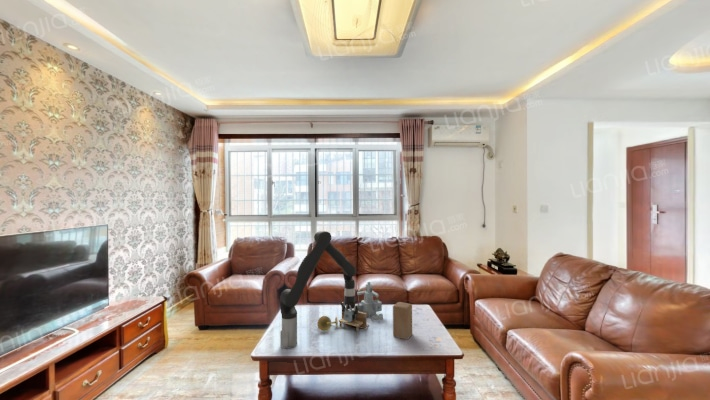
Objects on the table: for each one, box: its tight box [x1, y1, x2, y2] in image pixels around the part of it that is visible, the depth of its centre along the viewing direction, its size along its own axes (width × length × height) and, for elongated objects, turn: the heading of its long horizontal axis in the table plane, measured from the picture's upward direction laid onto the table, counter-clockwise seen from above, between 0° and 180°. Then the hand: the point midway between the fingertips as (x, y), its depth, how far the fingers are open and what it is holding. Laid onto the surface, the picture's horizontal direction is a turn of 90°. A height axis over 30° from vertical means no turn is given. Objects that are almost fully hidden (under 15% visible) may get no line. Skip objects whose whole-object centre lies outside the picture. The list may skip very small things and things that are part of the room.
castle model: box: [354, 281, 384, 321], centre depth 218 cm, size 17×17×25 cm
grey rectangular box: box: [344, 309, 356, 322], centre depth 199 cm, size 8×5×6 cm, turn 148°
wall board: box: [338, 310, 370, 332], centre depth 202 cm, size 11×20×10 cm, turn 57°
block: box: [392, 301, 413, 340], centre depth 186 cm, size 10×10×20 cm
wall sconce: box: [316, 315, 339, 332], centre depth 193 cm, size 14×10×25 cm
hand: (350, 318), depth 199 cm, fingers closed on grey rectangular box, 5 cm apart
